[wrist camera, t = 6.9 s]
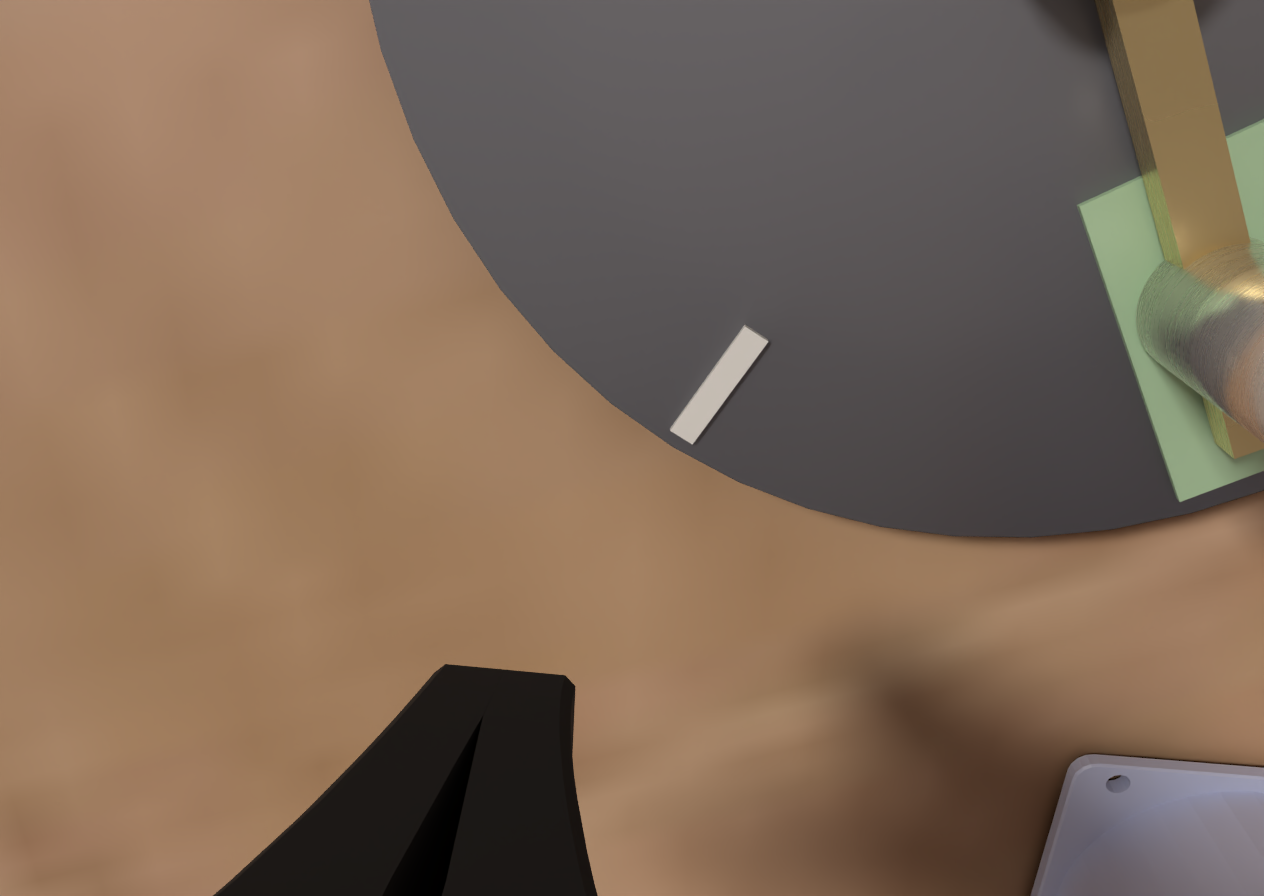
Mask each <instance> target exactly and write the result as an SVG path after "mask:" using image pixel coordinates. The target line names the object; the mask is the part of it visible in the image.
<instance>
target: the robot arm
mask: <svg viewBox="0 0 1264 896" xmlns="http://www.w3.org/2000/svg"><path fill="white" fill-rule="evenodd" d="M574 704H575V685H574V684H573V683H572V682H571V681H570V680H569V679H568V678H567V677H566V676H565V675H555V674H544V673H534V672H523V671H512V670H502V669H491V668H480V667H469V666H459V665H448V664H445V665H444V666H443V667H441V668H440V669H439V670H437V671H436V672H435V673H434V674H433V675H432V676H431V677H430V679H429V680H428V681H427V682H426V683H425V684H424V686H423V687H422V688H421V689H420V690H419V691H418V693H417V694H416V695H415V696H414V697H413V698H412V699H411V701H410V702H409V703H408V704H407V705H406V706H405V707H404V708H403V710H402V711H401V712H400V713H399V714H398V715H397V716H396V717H395V719H394V720H393V721H392V722H391V723H390V724H389V725H388V726H387V727H386V728H385V730H384V731H383V732H382V733H381V734H380V735H379V736H378V737H377V738H376V739H375V740H374V741H373V743H372V744H371V745H370V746H369V747H368V748H367V749H366V750H365V751H364V752H363V753H362V754H361V755H360V756H359V757H358V759H357V760H356V761H355V762H354V763H353V764H352V765H351V766H350V767H349V768H348V769H347V770H346V771H345V772H344V773H343V774H342V775H341V776H340V777H339V778H338V779H337V780H336V781H335V782H334V783H333V784H332V785H331V786H330V787H329V788H328V789H327V790H326V791H325V792H324V793H323V794H322V795H321V796H320V797H319V798H318V799H317V800H316V801H315V802H314V803H313V804H312V805H311V806H310V807H309V808H308V809H307V810H306V811H305V812H304V813H303V814H302V815H301V816H300V817H299V818H298V819H297V820H296V821H295V822H294V823H293V824H292V825H290V826H289V827H288V828H287V829H286V830H285V831H284V832H283V833H282V834H281V835H280V836H279V837H277V838H276V839H275V840H274V841H273V842H272V843H271V844H270V845H269V846H268V847H267V848H265V849H264V850H263V851H262V852H261V853H260V854H259V855H258V856H257V857H256V858H255V859H254V860H252V861H251V862H250V863H249V864H248V865H247V866H246V867H245V868H244V869H243V870H242V871H241V872H239V873H238V874H237V875H236V876H235V877H234V878H233V879H232V880H231V881H230V882H228V883H227V884H226V885H225V886H224V887H223V888H222V889H220V890H219V891H218V892H217V893H216V894H215V895H213V896H597V892H596V888H595V884H594V880H593V876H592V871H591V867H590V862H589V858H588V854H587V849H586V843H585V838H584V833H583V827H582V822H581V816H580V811H579V805H578V800H577V794H576V786H575V779H574V771H573V759H572V749H573V727H574ZM1116 775H1121V777H1119V778H1117V779H1115V780H1109V781H1108V779H1109V778H1111V777H1113V776H1116ZM1031 896H1264V768H1261V767H1249V766H1236V765H1224V764H1211V763H1199V762H1186V761H1174V760H1161V759H1149V758H1136V757H1124V756H1111V755H1099V754H1091V755H1084V756H1082V757H1079V758H1077V759H1076V760H1075V761H1073V762H1072V763H1071V764H1070V766H1069V768H1068V770H1067V773H1066V777H1065V780H1064V784H1063V787H1062V790H1061V794H1060V797H1059V801H1058V804H1057V807H1056V811H1055V814H1054V818H1053V821H1052V824H1051V828H1050V831H1049V835H1048V838H1047V841H1046V845H1045V848H1044V852H1043V855H1042V858H1041V862H1040V865H1039V869H1038V872H1037V876H1036V879H1035V882H1034V886H1033V889H1032V893H1031Z"/></svg>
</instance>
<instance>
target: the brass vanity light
mask: <svg viewBox="0 0 1264 896" xmlns="http://www.w3.org/2000/svg"><path fill="white" fill-rule="evenodd" d="M1094 2H1095V5H1096V9H1097V13H1098V16H1099V20H1100V24H1101V27H1102V31H1103V35H1104V38H1105V42H1106V46H1107V49H1108V53H1109V57H1110V60H1111V64H1112V68H1113V71H1114V75H1115V79H1116V82H1117V86H1118V90H1119V93H1120V97H1121V101H1122V104H1123V108H1124V112H1125V115H1126V119H1127V123H1128V126H1129V130H1130V134H1131V137H1132V141H1133V145H1134V148H1135V152H1136V156H1137V159H1138V163H1139V167H1140V170H1141V174H1142V178H1143V181H1144V185H1145V189H1146V192H1147V196H1148V200H1149V203H1150V207H1151V211H1152V214H1153V218H1154V222H1155V225H1156V229H1157V233H1158V236H1159V240H1160V244H1161V247H1162V251H1163V255H1164V258H1165V260H1164V261H1163V262H1162V263H1161V264H1160V265H1159V266H1158V267H1157V268H1156V269H1155V270H1154V272H1153V273H1152V274H1151V276H1150V277H1149V279H1148V280H1147V282H1146V284H1145V286H1144V288H1143V290H1142V292H1141V295H1140V297H1139V301H1138V305H1137V311H1136V327H1137V332H1138V336H1139V338H1140V341H1141V343H1142V345H1143V347H1144V348H1145V350H1146V351H1147V352H1148V354H1149V355H1150V356H1151V357H1152V358H1153V359H1154V360H1156V361H1157V362H1158V363H1159V364H1161V365H1162V366H1163V367H1165V368H1166V369H1167V370H1168V371H1170V372H1171V373H1172V374H1174V375H1175V376H1176V377H1178V378H1179V379H1180V380H1182V381H1183V382H1184V383H1185V384H1187V385H1188V386H1189V387H1191V388H1192V389H1193V390H1195V391H1196V392H1197V393H1199V394H1200V395H1201V396H1202V398H1203V402H1204V405H1205V409H1206V413H1207V416H1208V420H1209V424H1210V427H1211V431H1212V435H1213V438H1214V442H1215V443H1216V444H1217V445H1218V446H1219V447H1221V448H1222V449H1223V450H1224V451H1225V452H1227V453H1228V454H1229V455H1230V456H1231V457H1233V458H1234V459H1236V458H1239V457H1242V456H1245V455H1248V454H1250V453H1253V452H1256V451H1259V450H1262V449H1264V242H1263V241H1260V240H1258V239H1255V238H1252V237H1249V233H1248V229H1247V225H1246V221H1245V216H1244V212H1243V208H1242V204H1241V200H1240V195H1239V191H1238V187H1237V183H1236V179H1235V174H1234V170H1233V166H1232V162H1231V157H1230V153H1229V149H1228V145H1227V141H1226V136H1225V132H1224V128H1223V124H1222V120H1221V115H1220V111H1219V107H1218V103H1217V98H1216V94H1215V90H1214V86H1213V82H1212V77H1211V73H1210V69H1209V65H1208V61H1207V56H1206V52H1205V48H1204V44H1203V39H1202V35H1201V31H1200V27H1199V23H1198V18H1197V14H1196V10H1195V6H1194V2H1193V0H1094Z"/></svg>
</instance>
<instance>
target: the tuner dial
mask: <svg viewBox="0 0 1264 896" xmlns="http://www.w3.org/2000/svg"><path fill="white" fill-rule="evenodd" d="M369 2H370V6H371V10H372V14H373V18H374V22H375V27H376V31H377V35H378V39H379V43H380V48H381V51H382V54H383V57H384V59H385V62H386V65H387V68H388V70H389V73H390V76H391V79H392V81H393V84H394V87H395V90H396V92H397V95H398V98H399V101H400V103H401V106H402V109H403V112H404V114H405V117H406V120H407V123H408V125H409V128H410V131H411V134H412V136H413V139H414V141H415V143H416V145H417V147H418V149H419V151H420V153H421V155H422V157H423V159H424V161H425V163H426V165H427V167H428V169H429V171H430V173H431V175H432V177H433V179H434V181H435V183H436V185H437V187H438V189H439V191H440V193H441V195H442V197H443V199H444V201H445V203H446V205H447V207H448V209H449V211H450V213H451V215H452V217H453V219H454V220H455V222H456V223H457V225H458V226H459V228H460V229H461V231H462V232H463V234H464V235H465V237H466V238H467V240H468V241H469V243H470V244H471V246H472V247H473V249H474V250H475V252H476V253H477V255H478V256H479V258H480V259H481V261H482V262H483V264H484V265H485V267H486V268H487V270H488V271H489V273H490V274H491V276H492V277H493V279H494V280H495V282H496V283H497V285H498V286H499V288H500V289H501V291H502V292H503V293H504V294H505V295H506V296H507V298H508V299H509V300H510V301H511V302H512V303H513V305H514V306H515V307H516V308H517V309H518V310H519V312H520V313H521V314H522V315H523V316H524V317H525V319H526V320H527V321H528V322H529V323H530V324H531V326H532V327H533V328H534V329H535V330H536V331H537V333H538V334H539V335H540V336H541V337H542V338H543V340H544V341H545V342H546V343H547V344H548V345H549V347H550V348H551V349H552V350H553V351H554V352H555V353H556V354H557V355H558V356H559V357H560V358H562V359H563V360H564V361H565V362H566V363H567V364H568V365H569V366H570V367H571V368H572V369H574V370H575V371H576V372H577V373H578V374H579V375H580V376H581V377H582V378H583V379H585V380H586V381H587V382H588V383H589V384H590V385H591V386H592V387H593V388H594V389H596V390H597V391H598V392H599V393H600V394H601V395H602V396H603V397H604V398H605V399H607V400H608V401H609V402H610V403H611V404H612V405H614V406H615V407H617V408H618V409H620V410H621V411H622V412H624V413H625V414H627V415H628V416H629V417H631V418H632V419H634V420H635V421H637V422H638V423H639V424H641V425H642V426H644V427H645V428H647V429H648V430H649V431H651V432H652V433H654V434H655V435H656V436H658V437H659V438H661V439H662V440H664V441H665V442H666V443H668V444H669V445H671V446H672V447H674V448H676V449H678V450H679V451H681V452H683V453H685V454H687V455H689V456H691V457H693V458H694V459H696V460H698V461H700V462H702V463H704V464H706V465H708V466H709V467H711V468H713V469H715V470H717V471H719V472H721V473H723V474H724V475H726V476H728V477H730V478H732V479H734V480H736V481H738V482H740V483H743V484H745V485H748V486H750V487H753V488H756V489H758V490H761V491H763V492H766V493H769V494H771V495H774V496H776V497H779V498H782V499H784V500H787V501H789V502H792V503H795V504H797V505H800V506H803V507H805V508H808V509H812V510H816V511H820V512H824V513H828V514H832V515H836V516H840V517H844V518H848V519H852V520H856V521H860V522H864V523H868V524H872V525H876V526H880V527H887V528H895V529H903V530H911V531H919V532H926V533H934V534H942V535H950V536H982V537H1039V536H1049V535H1059V534H1070V533H1080V532H1090V531H1101V530H1111V529H1116V528H1121V527H1126V526H1130V525H1135V524H1140V523H1145V522H1150V521H1155V520H1160V519H1164V518H1169V517H1174V516H1179V515H1184V514H1189V513H1193V512H1196V511H1199V510H1203V509H1206V508H1209V507H1212V506H1215V505H1218V504H1222V503H1225V502H1228V501H1231V500H1234V499H1237V498H1241V497H1244V496H1247V495H1250V494H1253V493H1257V492H1260V491H1263V490H1264V449H1262V450H1259V451H1256V452H1253V453H1250V454H1248V455H1245V456H1242V457H1239V458H1236V459H1234V458H1233V457H1231V456H1230V455H1229V454H1228V453H1227V452H1225V451H1224V450H1223V449H1222V448H1221V447H1219V446H1218V445H1217V444H1216V443H1215V442H1214V438H1213V435H1212V431H1211V427H1210V424H1209V420H1208V416H1207V413H1206V409H1205V405H1204V402H1203V398H1202V396H1201V395H1200V394H1199V393H1197V392H1196V391H1195V390H1193V389H1192V388H1191V387H1189V386H1188V385H1187V384H1185V383H1184V382H1183V381H1182V380H1180V379H1179V378H1178V377H1176V376H1175V375H1174V374H1172V373H1171V372H1170V371H1168V370H1167V369H1166V368H1165V367H1163V366H1162V365H1161V364H1159V363H1158V362H1157V361H1156V360H1154V359H1153V358H1152V357H1151V356H1150V355H1149V354H1148V352H1147V351H1146V350H1145V348H1144V347H1143V345H1142V343H1141V341H1140V338H1139V336H1138V332H1137V327H1136V311H1137V305H1138V301H1139V297H1140V295H1141V292H1142V290H1143V288H1144V286H1145V284H1146V282H1147V280H1148V279H1149V277H1150V276H1151V274H1152V273H1153V272H1154V270H1155V269H1156V268H1157V267H1158V266H1159V265H1160V264H1161V263H1162V262H1163V261H1164V260H1165V258H1164V255H1163V251H1162V247H1161V244H1160V240H1159V236H1158V233H1157V229H1156V225H1155V222H1154V218H1153V214H1152V211H1151V207H1150V203H1149V200H1148V196H1147V192H1146V189H1145V185H1144V181H1143V178H1142V174H1141V170H1140V167H1139V163H1138V159H1137V156H1136V152H1135V148H1134V145H1133V141H1132V137H1131V134H1130V130H1129V126H1128V123H1127V119H1126V115H1125V112H1124V108H1123V104H1122V101H1121V97H1120V93H1119V90H1118V86H1117V82H1116V79H1115V75H1114V71H1113V68H1112V64H1111V60H1110V57H1109V53H1108V49H1107V46H1106V42H1105V38H1104V35H1103V31H1102V27H1101V24H1100V20H1099V16H1098V13H1097V9H1096V5H1095V2H1094V0H369ZM1193 2H1194V6H1195V10H1196V14H1197V18H1198V23H1199V27H1200V31H1201V35H1202V39H1203V44H1204V48H1205V52H1206V56H1207V61H1208V65H1209V69H1210V73H1211V77H1212V82H1213V86H1214V90H1215V94H1216V98H1217V103H1218V107H1219V111H1220V115H1221V120H1222V124H1223V128H1224V132H1225V136H1226V141H1227V145H1228V149H1229V153H1230V157H1231V162H1232V166H1233V170H1234V174H1235V179H1236V183H1237V187H1238V191H1239V195H1240V200H1241V204H1242V208H1243V212H1244V216H1245V221H1246V225H1247V229H1248V233H1249V237H1252V238H1255V239H1258V240H1260V241H1263V242H1264V0H1193Z"/></svg>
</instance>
